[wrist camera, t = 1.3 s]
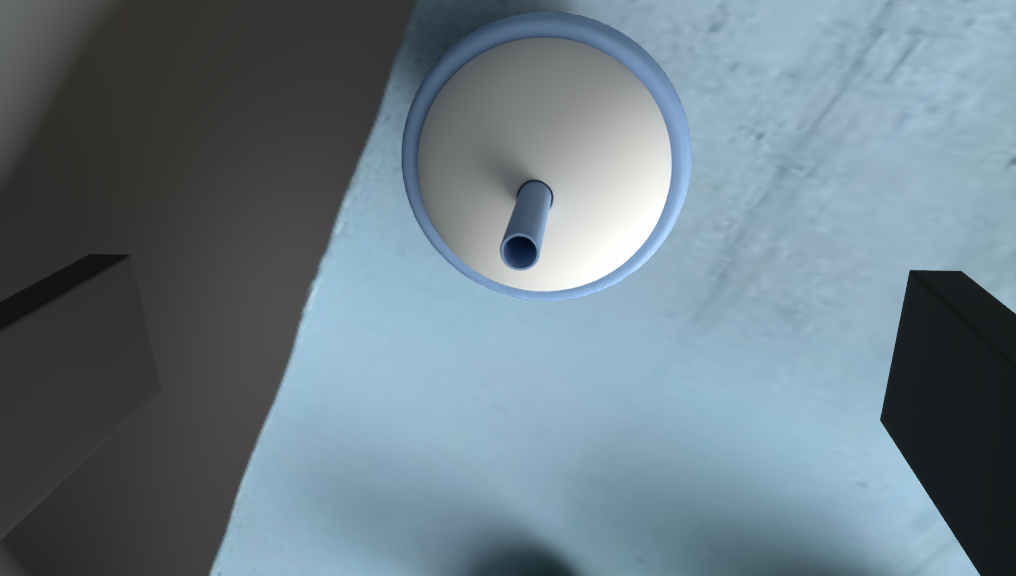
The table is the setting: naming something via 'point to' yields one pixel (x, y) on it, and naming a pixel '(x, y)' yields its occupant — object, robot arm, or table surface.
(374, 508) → the table surface
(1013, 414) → the robot arm
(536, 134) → the cup with straw
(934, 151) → the table surface
